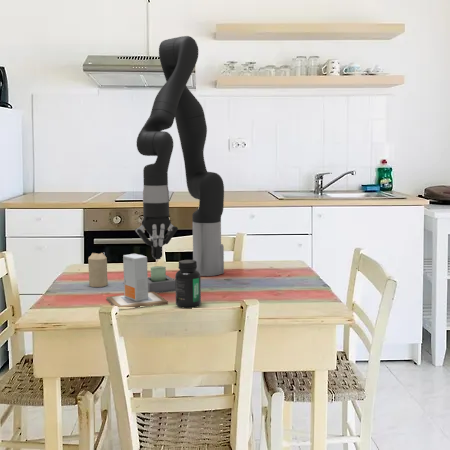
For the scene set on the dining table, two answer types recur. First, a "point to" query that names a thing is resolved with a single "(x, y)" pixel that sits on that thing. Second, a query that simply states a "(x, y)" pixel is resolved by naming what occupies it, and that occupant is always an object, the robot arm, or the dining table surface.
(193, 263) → the supplement bottle
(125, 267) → the skincare box
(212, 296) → the dining table surface
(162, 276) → the button
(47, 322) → the dining table surface
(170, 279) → the button housing
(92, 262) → the candle
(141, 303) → the board
